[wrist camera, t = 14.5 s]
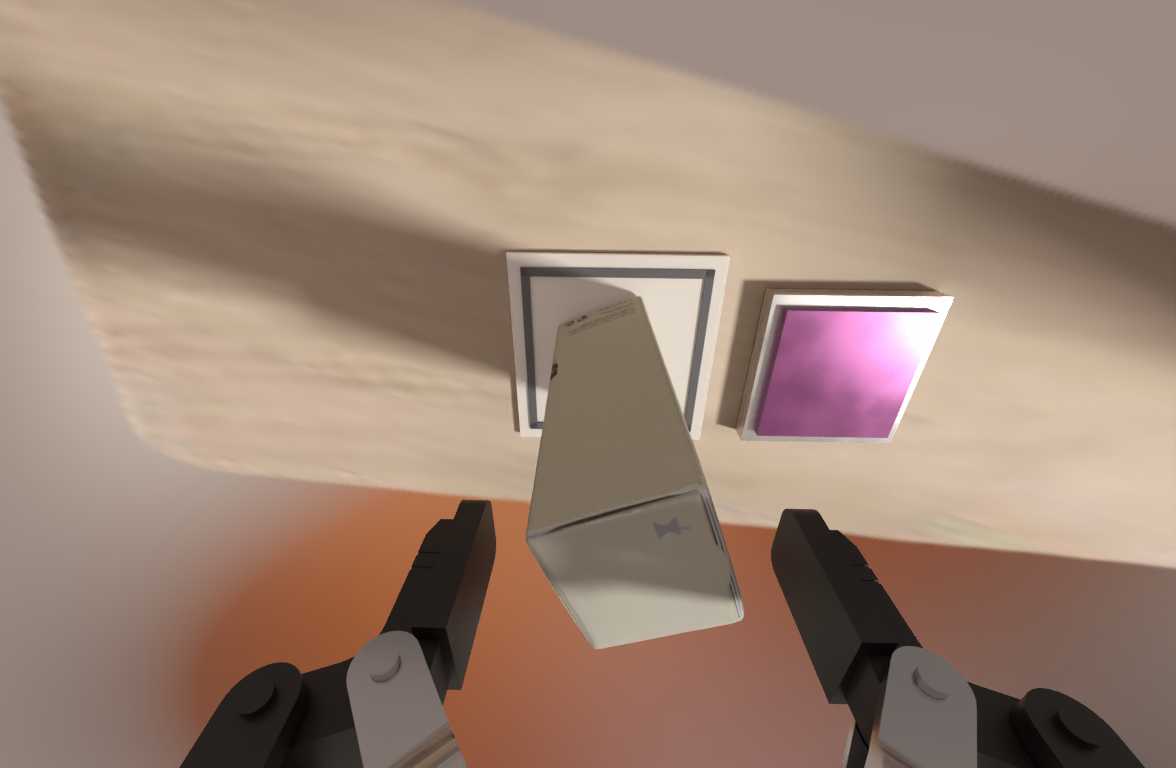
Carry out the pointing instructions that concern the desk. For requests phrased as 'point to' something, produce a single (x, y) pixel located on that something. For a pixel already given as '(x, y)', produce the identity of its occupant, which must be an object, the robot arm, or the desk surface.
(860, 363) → the ink pad
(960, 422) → the desk surface
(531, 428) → the paper
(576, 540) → the box
